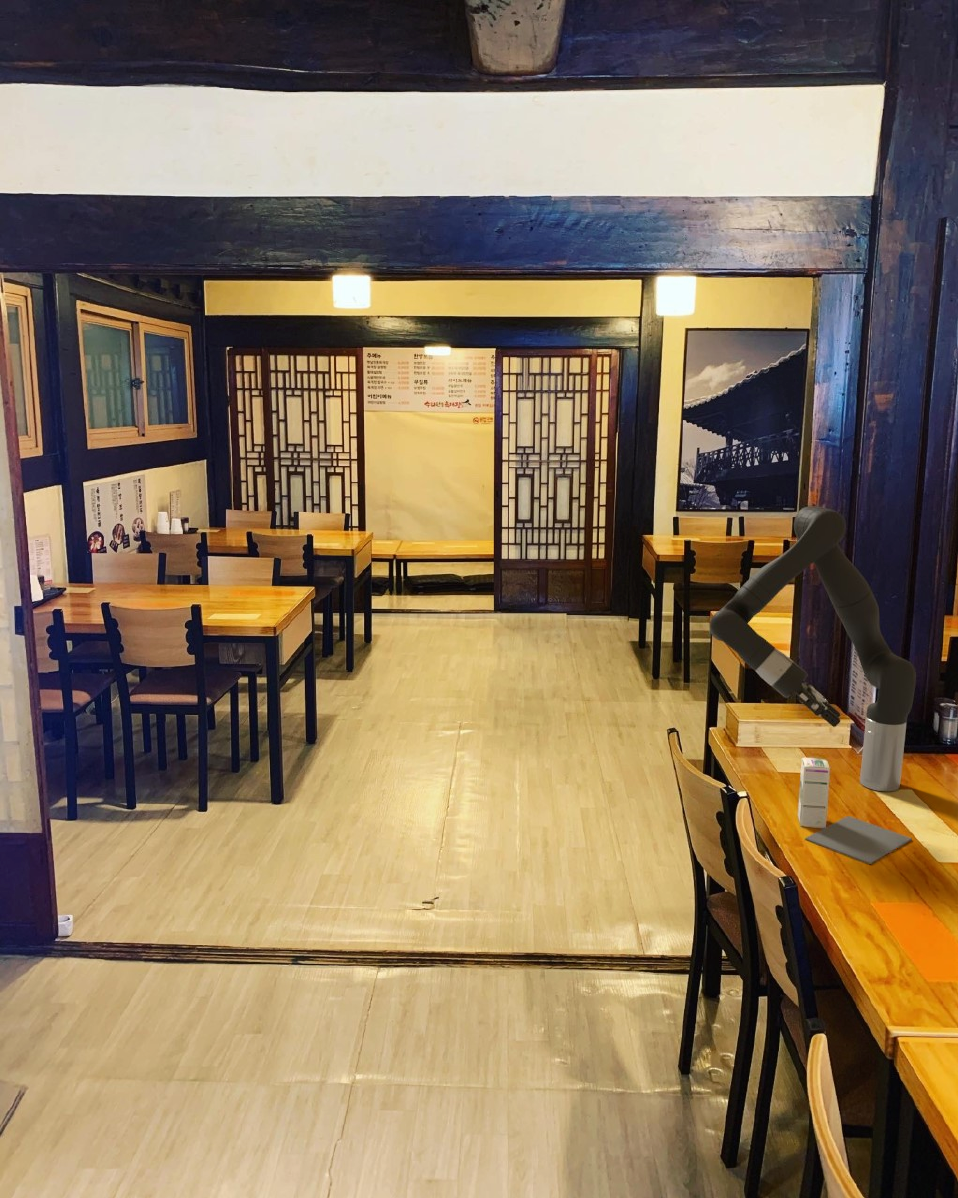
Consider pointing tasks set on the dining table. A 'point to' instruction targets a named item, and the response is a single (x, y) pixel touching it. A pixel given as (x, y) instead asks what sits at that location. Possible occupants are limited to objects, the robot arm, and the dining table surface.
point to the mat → (858, 839)
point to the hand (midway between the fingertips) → (837, 720)
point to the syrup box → (813, 792)
